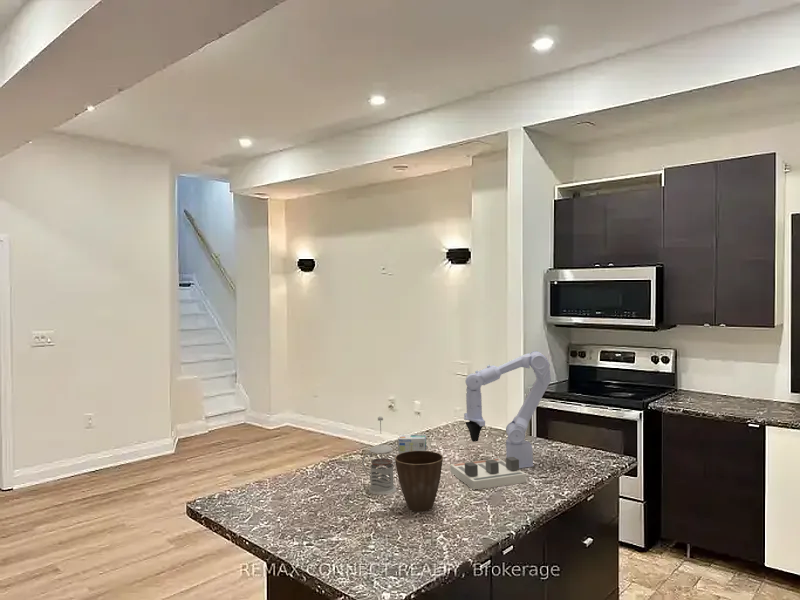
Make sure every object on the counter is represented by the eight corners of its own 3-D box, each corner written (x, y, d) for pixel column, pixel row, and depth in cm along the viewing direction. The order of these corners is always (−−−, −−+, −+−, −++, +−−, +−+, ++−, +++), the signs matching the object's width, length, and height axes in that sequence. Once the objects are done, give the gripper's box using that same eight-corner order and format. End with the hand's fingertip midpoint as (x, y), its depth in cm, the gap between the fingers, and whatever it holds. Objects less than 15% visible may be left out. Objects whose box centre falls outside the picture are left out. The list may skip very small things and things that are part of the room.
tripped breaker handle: (493, 469, 210) (493, 459, 210) (498, 472, 207) (498, 462, 206) (485, 470, 209) (485, 460, 209) (490, 473, 206) (490, 463, 206)
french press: (393, 495, 197) (391, 420, 196) (359, 493, 199) (357, 419, 198) (399, 485, 206) (397, 413, 206) (367, 483, 209) (365, 413, 208)
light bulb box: (427, 461, 234) (426, 433, 233) (426, 466, 227) (425, 438, 227) (400, 460, 235) (399, 433, 234) (398, 466, 228) (397, 438, 228)
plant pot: (389, 503, 189) (388, 453, 189) (432, 496, 195) (431, 448, 194) (406, 520, 175) (405, 466, 175) (452, 512, 181) (450, 460, 180)
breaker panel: (499, 466, 225) (498, 447, 224) (526, 482, 206) (525, 462, 205) (450, 472, 218) (449, 454, 218) (473, 490, 199) (473, 469, 199)
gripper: (456, 402, 231) (457, 437, 231) (472, 410, 217) (473, 447, 217) (473, 401, 233) (474, 435, 233) (490, 408, 219) (490, 444, 220)
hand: (474, 441), depth 226 cm, fingers closed
